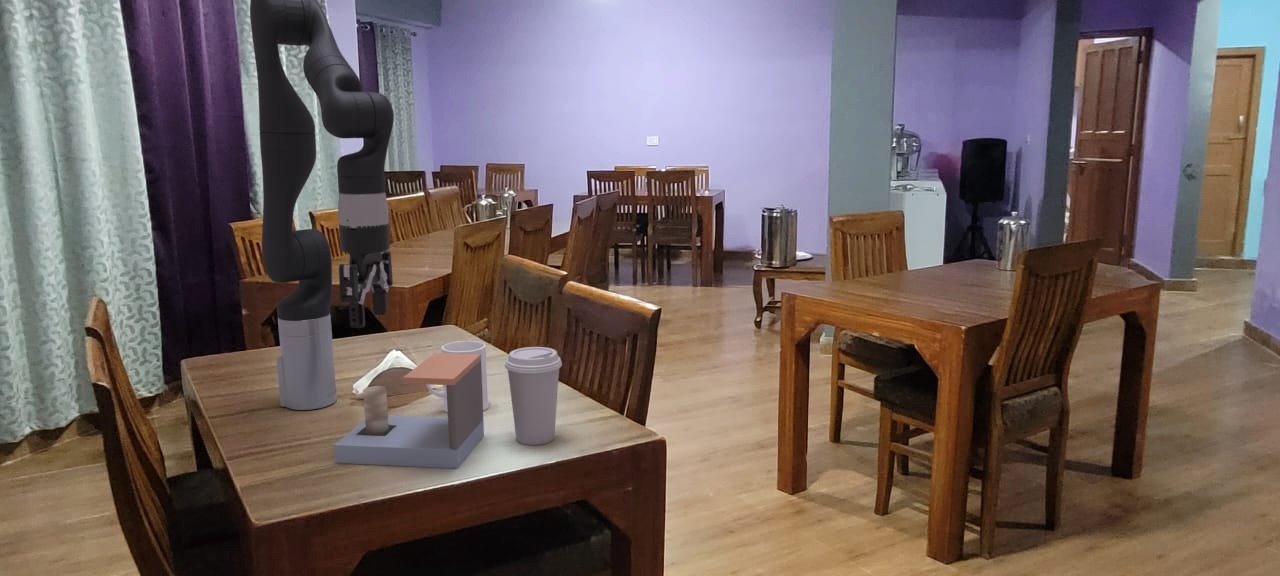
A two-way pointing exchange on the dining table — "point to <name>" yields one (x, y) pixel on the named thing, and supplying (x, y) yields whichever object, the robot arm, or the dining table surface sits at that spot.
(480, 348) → the mug
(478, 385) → the socket board
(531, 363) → the coffee cup
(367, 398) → the peg
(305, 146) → the robot arm
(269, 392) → the dining table surface
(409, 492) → the dining table surface
